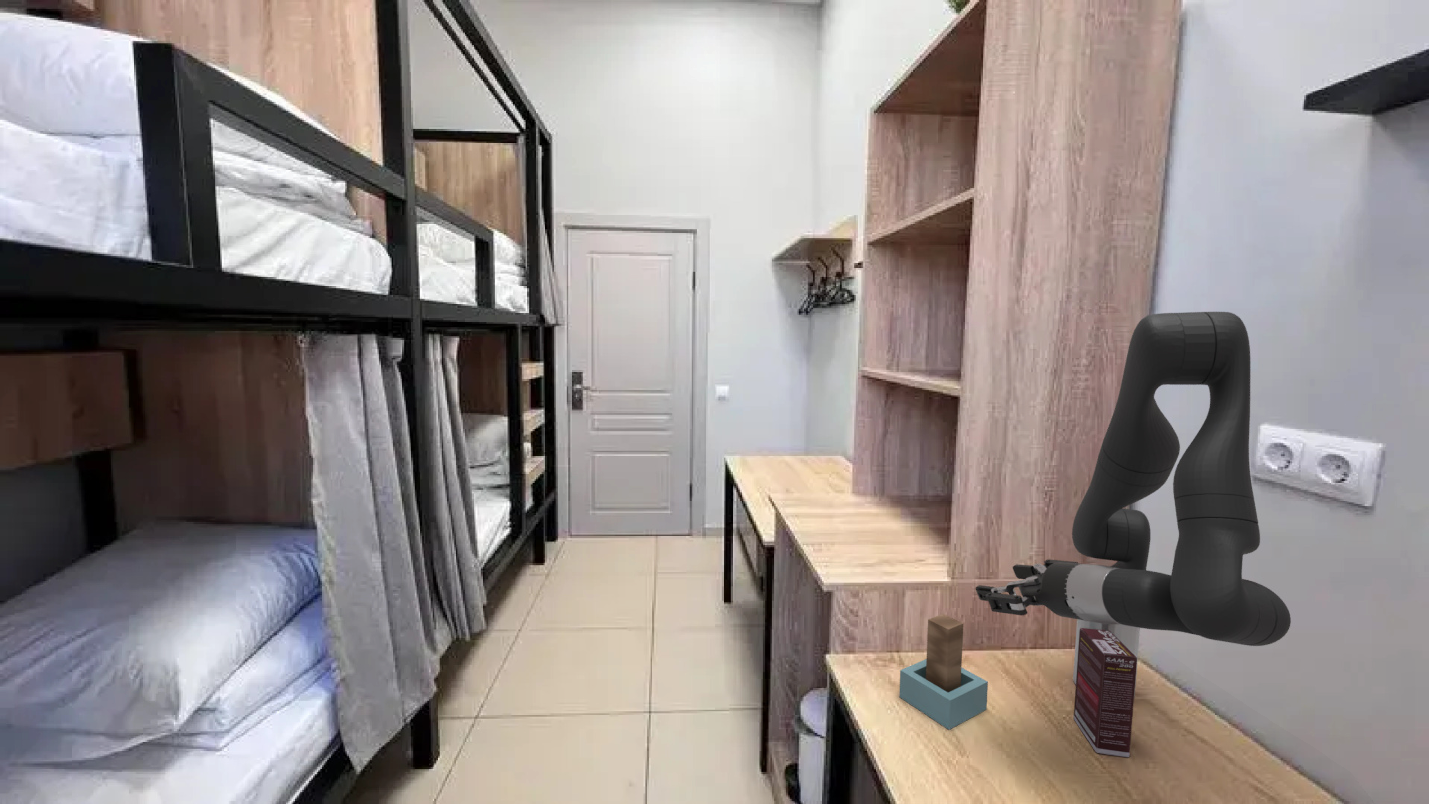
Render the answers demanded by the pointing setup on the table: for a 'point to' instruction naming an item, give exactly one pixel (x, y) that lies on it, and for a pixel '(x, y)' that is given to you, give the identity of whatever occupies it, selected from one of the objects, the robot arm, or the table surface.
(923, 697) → the well
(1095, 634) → the supplement box
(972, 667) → the table surface
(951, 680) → the walnut post
